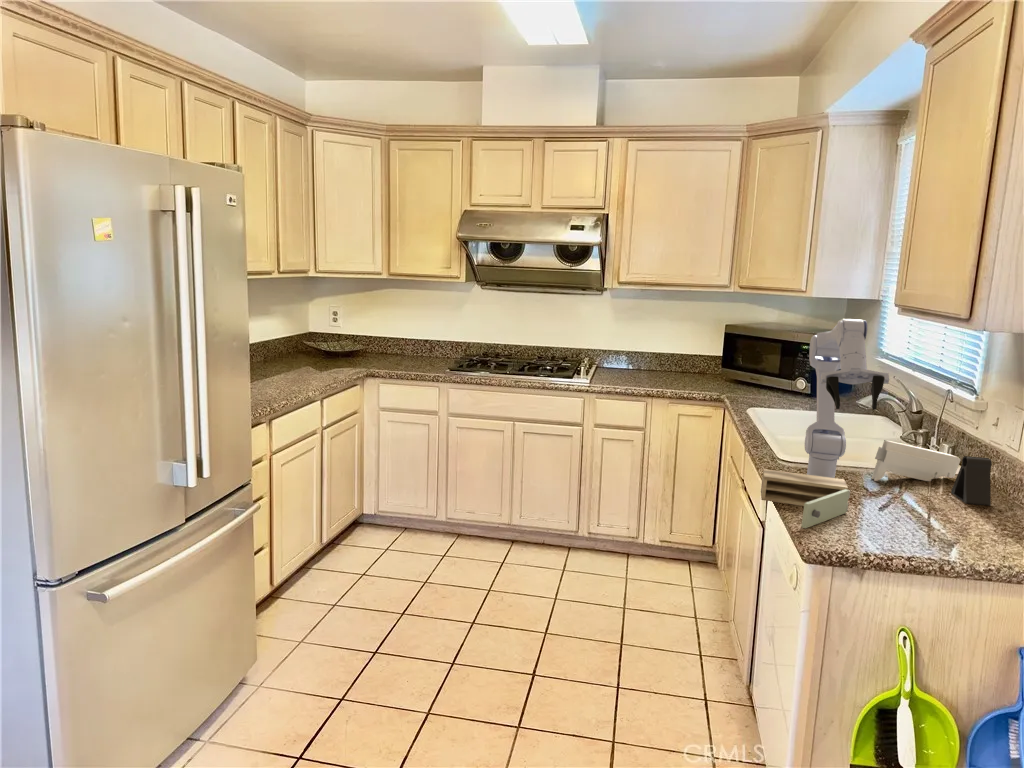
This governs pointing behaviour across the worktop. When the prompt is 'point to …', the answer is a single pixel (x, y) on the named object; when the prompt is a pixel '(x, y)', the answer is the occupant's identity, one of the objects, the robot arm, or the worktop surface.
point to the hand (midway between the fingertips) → (856, 407)
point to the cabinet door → (825, 508)
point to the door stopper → (973, 481)
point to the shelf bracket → (913, 462)
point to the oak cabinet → (797, 487)
